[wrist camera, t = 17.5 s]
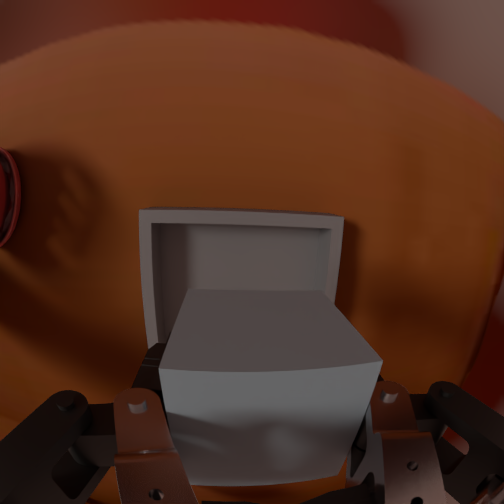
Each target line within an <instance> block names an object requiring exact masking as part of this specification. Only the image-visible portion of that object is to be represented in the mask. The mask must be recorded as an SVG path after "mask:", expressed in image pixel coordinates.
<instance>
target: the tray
mask: <svg viewBox="0 0 504 504" xmlns="http://www.w3.org/2000/svg"><path fill="white" fill-rule="evenodd" d="M343 225H344V217H342V216H338V215H334V214H330V213H318V212H302V211H284V210H263V209H238V208H201V207H149V208H145V209H140V210H139V242H140V266H141V283H142V296H143V307H144V317H145V326H146V334H147V342H148V349H149V348H151V347H152V346H153V345H155V344H156V343H166V341H167V339H168V336H169V333H170V332H171V331H172V330H173V327H174V324H175V322H176V319H177V316H178V314H179V311H180V309H181V306H182V303H183V301H184V298H185V296H186V293H187V291H188V289H213V290H280V291H296V290H321V291H322V292H323V293H324V294H325V295H326V296H327V297H328V298H329V300H330V301H331V302H332V303H333V304H334V302H335V295H336V288H337V281H338V273H339V265H340V256H341V246H342V236H343Z"/></svg>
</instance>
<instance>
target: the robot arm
mask: <svg viewBox="0 0 504 504" xmlns="http://www.w3.org/2000/svg"><path fill="white" fill-rule="evenodd" d="M171 332H172V331H171ZM171 332H170V333H169V336H168V339H167V341H166V343H156V344H155V345H153V346H152V347H151V348H149V349H148V351H147V353H146V356H145V359H144V360H143V362H142V366H141V367H140V369H139V371H138V374H137V376H136V378H135V380H134V383H133V385H132V387H131V388H130V389H127V390H124V391H122V392H120V393H119V394H118V395H117V396H116V397H115V399H114V402H113V403H108V404H88V402H87V399H86V398H85V396H84V395H82V394H81V393H79V392H77V391H72V390H65V391H60V392H57V393H55V394H53V395H52V396H51V397H49V398H48V399H47V400H46V401H45V402H44V403H43V404H41V405H40V406H39V407H38V408H37V409H36V410H35V411H34V412H32V413H31V414H30V415H29V416H28V417H27V418H26V419H25V420H23V421H22V422H21V423H20V424H19V425H18V426H17V427H16V428H15V429H13V430H12V431H11V432H10V433H9V434H8V435H7V436H6V437H5V438H4V439H2V440H1V441H0V504H85V502H86V501H87V500H88V498H89V497H90V495H91V494H92V492H93V491H94V490H95V488H96V487H97V485H98V484H99V482H100V481H101V480H102V478H103V477H104V475H105V474H106V472H107V471H108V470H109V468H110V467H111V466H115V470H116V476H117V482H118V488H119V493H120V498H121V503H122V504H198V502H197V499H196V497H195V495H194V492H193V490H192V488H191V485H190V483H189V480H188V478H187V475H186V473H185V470H184V467H183V465H182V462H181V459H180V456H179V454H178V451H177V449H176V447H174V444H173V441H172V437H171V433H170V428H169V424H168V419H167V414H166V409H165V404H164V398H163V393H162V387H161V381H160V375H159V366H160V363H161V360H162V357H163V354H164V351H165V349H166V346H167V343H168V340H169V338H170V335H171ZM447 427H450V428H451V429H452V430H454V431H455V432H456V433H457V434H459V435H460V436H461V437H462V438H464V439H465V440H466V441H467V442H468V444H469V452H468V454H467V455H464V454H463V453H461V452H460V451H459V450H458V449H456V448H455V447H454V446H452V445H451V444H450V443H449V442H448V441H446V440H445V439H444V438H443V437H442V435H443V434H444V432H445V430H446V429H447ZM66 451H67V452H66ZM59 459H60V460H59ZM445 491H447V492H448V493H449V494H450V495H451V496H452V497H453V498H454V499H455V500H457V501H458V502H459V503H460V504H504V417H503V416H501V415H500V414H499V413H497V412H496V411H494V410H493V409H491V408H489V407H488V406H487V405H485V404H484V403H482V402H481V401H479V400H478V399H476V398H475V397H473V396H472V395H470V394H469V393H467V392H466V391H464V390H463V389H461V388H460V387H458V386H457V385H455V384H453V383H450V382H446V381H439V382H435V383H433V384H432V385H431V386H430V388H429V391H428V393H427V394H409V393H408V391H407V389H406V388H405V387H403V386H402V385H400V384H398V383H396V382H392V381H384V380H383V378H382V377H381V376H380V374H379V375H378V379H377V382H376V385H375V387H374V390H373V393H372V396H371V399H370V402H369V404H368V407H367V410H366V412H365V415H364V417H363V420H362V422H361V425H360V427H359V430H358V432H357V434H356V437H355V439H354V441H353V443H352V446H351V448H350V450H349V452H348V454H347V471H346V483H345V488H344V489H340V490H336V491H331V492H328V493H326V494H323V495H321V496H318V497H316V498H313V499H311V500H308V501H305V502H303V503H300V504H447V501H446V495H445ZM202 504H258V503H251V502H245V501H241V502H221V501H202Z"/></svg>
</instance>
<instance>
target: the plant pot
mask: <svg viewBox="0 0 504 504" xmlns="http://www.w3.org/2000/svg"><path fill="white" fill-rule="evenodd" d="M20 205H21V182H20V176H19V171H18V168H17V165H16V163H15V161H14V159H13V157H12V156H11V155H10V153H9V152H8V151H6V150H5V149H3V148H1V147H0V247H1V246H3V245H4V244H5V243H6V242H7V241H8V239H9V238H10V237H11V235H12V233H13V231H14V229H15V226H16V224H17V220H18V217H19V212H20Z"/></svg>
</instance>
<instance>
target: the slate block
mask: <svg viewBox="0 0 504 504" xmlns="http://www.w3.org/2000/svg"><path fill="white" fill-rule="evenodd" d="M382 363H383V360H382V359H381V358H380V357H379V355H378V354H377V353H376V352H375V351H374V350H373V349H372V347H371V346H370V345H369V344H368V343H367V342H366V340H365V339H364V338H363V337H362V336H361V335H360V334H359V332H358V331H357V330H356V329H355V328H354V327H353V326H352V324H351V323H350V322H349V321H348V320H347V319H346V318H345V316H344V315H343V314H342V313H341V312H340V311H339V310H338V309H337V307H336V306H335V305H334V304H333V303H332V302H331V301H330V300H329V298H328V297H327V296H326V295H325V294H324V293H323V292H322V291H321V290H296V291H280V290H213V289H188V291H187V293H186V296H185V298H184V301H183V303H182V306H181V309H180V311H179V314H178V316H177V319H176V322H175V324H174V327H173V330H172V332H171V335H170V338H169V340H168V343H167V346H166V349H165V351H164V354H163V357H162V360H161V363H160V366H159V375H160V381H161V387H162V393H163V398H164V404H165V409H166V414H167V419H168V424H169V428H170V433H171V437H172V441H173V444H174V447H176V449H177V451H178V454H179V456H180V459H181V462H182V465H183V467H184V470H185V473H186V475H187V478H188V480H189V483H190V484H191V485H207V486H255V485H271V484H283V483H292V482H300V481H307V480H313V479H319V478H325V477H330V476H335V475H338V473H339V471H340V469H341V467H342V465H343V463H344V461H345V459H346V457H347V454H348V452H349V450H350V448H351V446H352V443H353V441H354V439H355V437H356V434H357V432H358V430H359V427H360V425H361V422H362V420H363V417H364V415H365V412H366V410H367V407H368V404H369V402H370V399H371V396H372V393H373V390H374V387H375V385H376V382H377V379H378V375H379V372H380V369H381V366H382Z"/></svg>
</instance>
